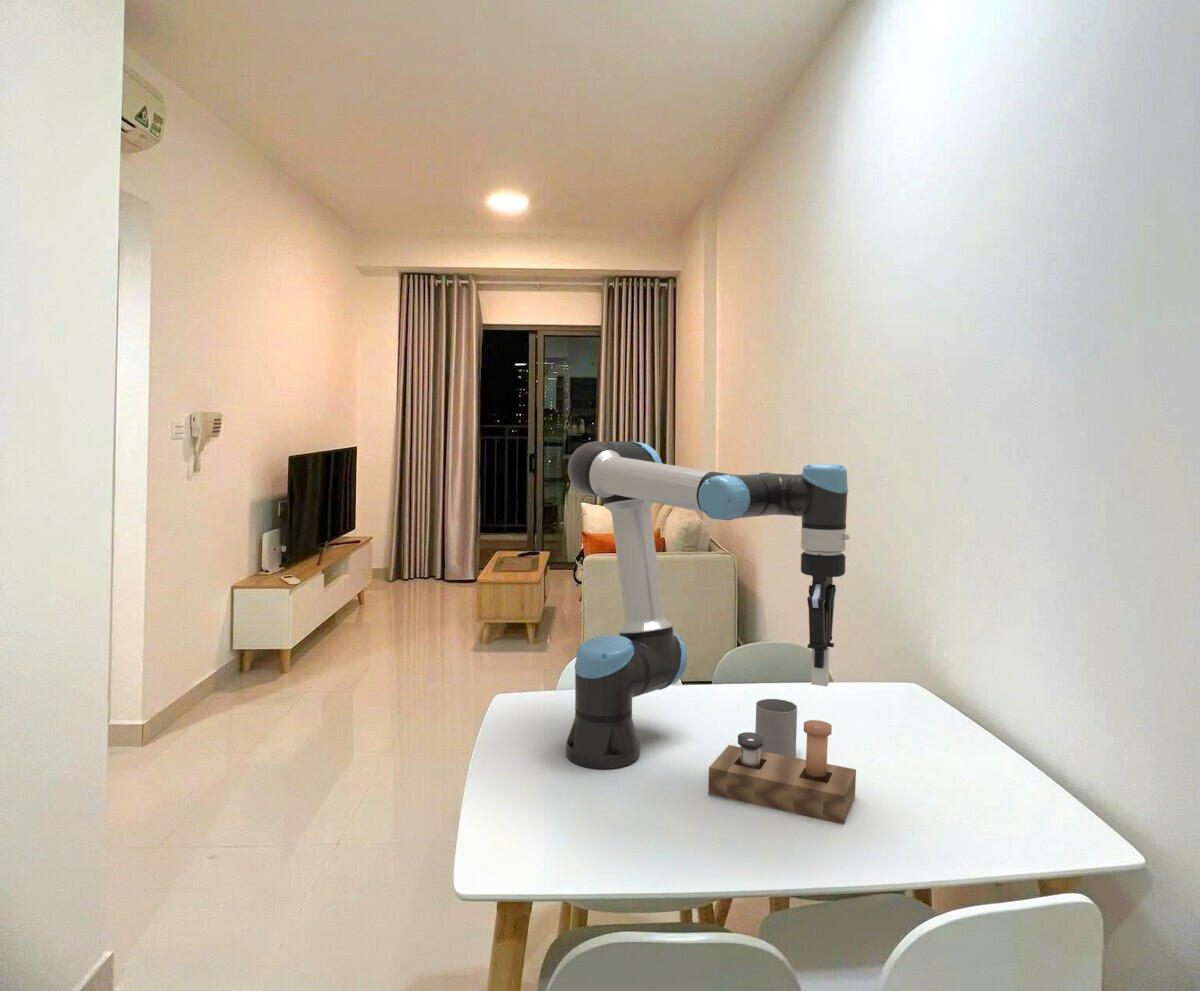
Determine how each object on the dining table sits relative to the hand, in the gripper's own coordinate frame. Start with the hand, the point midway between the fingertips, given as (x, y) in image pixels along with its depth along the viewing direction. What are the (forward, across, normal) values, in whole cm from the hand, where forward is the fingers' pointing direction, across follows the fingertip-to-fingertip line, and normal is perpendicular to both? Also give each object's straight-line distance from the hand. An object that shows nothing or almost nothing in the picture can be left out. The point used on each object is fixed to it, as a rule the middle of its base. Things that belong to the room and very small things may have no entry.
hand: (819, 684), depth 139 cm
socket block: (+22, 0, +6) cm, 23 cm away
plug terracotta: (+16, 0, 0) cm, 16 cm away
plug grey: (+21, 0, +12) cm, 24 cm away
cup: (+22, +19, +12) cm, 32 cm away
